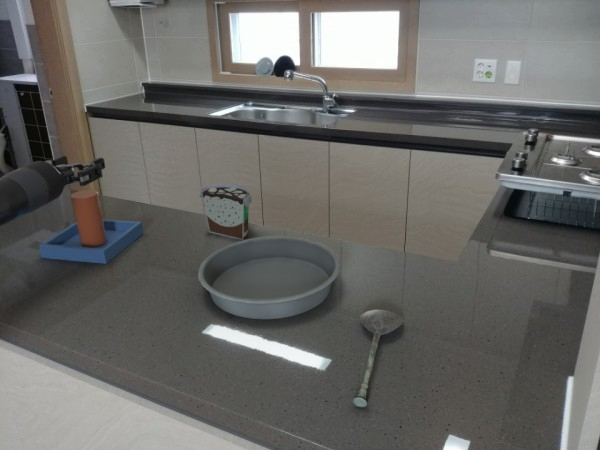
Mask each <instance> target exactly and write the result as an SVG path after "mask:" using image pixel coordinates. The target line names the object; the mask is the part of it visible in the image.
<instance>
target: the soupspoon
mask: <svg viewBox="0 0 600 450" xmlns="http://www.w3.org/2000/svg"><path fill="white" fill-rule="evenodd" d="M359 321H360V322H361V324H362V325H363V327H365V328H366V329H367V330H368V331H369V332H370V333H372V334H373V337H372V342H371V345H370V349H369V353H368V359H367V364H366V368H365V372H364V376H363V382H362V383H361V384H360V389H358V394H357V396H356V397H355V398H352V399H353V400H352V403H353V404H354V405H355V406H356V407H359V408H366V407H367V406H368V402H367V397H366V396H367V393H368V390H367V389H368V388H369V383H370V382H369V381H370V378H371V374H372V372H373V371H372V370H373V367H374V362H375V359H376V353H377V349H378V346H379V343H380V340H381V336H384V335H387V334H390V333H391V332H394V331H395V330H397V329H398V328H400V327H401V326H402V325H403V323H404V319H403V318H402V317H401V316H400V315H399V314H397V313H394V312H392V311H389V310H386V309H372V310H367V311H365V312H363V313H362V314H360V315H359Z"/></svg>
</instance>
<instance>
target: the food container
mask: <svg viewBox="0 0 600 450" xmlns="http://www.w3.org/2000/svg"><path fill="white" fill-rule="evenodd" d="M199 198H201V199H202V203H203V208H204V209H203V210H204V214H205V219H206V224H207V230H208V233H210V234H214V235H218V236H223V237H227V238H230V239H234V240H235V239H236V240H238V241H242V240H247V239H248V236H249V210H250V209H249V208H250V205H251V204H252V201H253V199H252V195H251V192H250V191H249V189H248V188H247V187H246V186H244V185H241V184H235V183H220V184H219V183H217V184H212V185H208V186H204V187H202V188H200V191H199Z"/></svg>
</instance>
